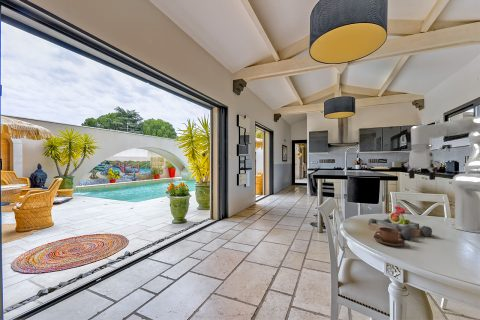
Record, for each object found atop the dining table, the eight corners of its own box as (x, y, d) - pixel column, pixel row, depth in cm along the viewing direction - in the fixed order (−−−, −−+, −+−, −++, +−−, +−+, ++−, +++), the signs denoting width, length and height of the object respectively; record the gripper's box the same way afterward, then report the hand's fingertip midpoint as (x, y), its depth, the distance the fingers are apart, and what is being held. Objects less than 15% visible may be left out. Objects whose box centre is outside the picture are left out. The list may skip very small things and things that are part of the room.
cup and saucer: (391, 249, 88) (391, 235, 88) (367, 239, 100) (367, 226, 100) (411, 246, 91) (411, 233, 91) (386, 237, 103) (386, 225, 103)
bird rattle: (391, 229, 109) (410, 225, 103) (382, 209, 114) (399, 204, 108) (396, 228, 112) (414, 224, 106) (386, 209, 117) (403, 204, 111)
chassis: (394, 224, 123) (394, 215, 123) (434, 236, 104) (434, 225, 104) (366, 227, 117) (366, 218, 117) (402, 240, 98) (402, 229, 98)
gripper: (444, 146, 103) (446, 179, 103) (408, 148, 120) (409, 177, 120) (434, 146, 101) (435, 180, 101) (399, 149, 118) (400, 178, 118)
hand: (421, 178), depth 111 cm, fingers open, 9 cm apart
